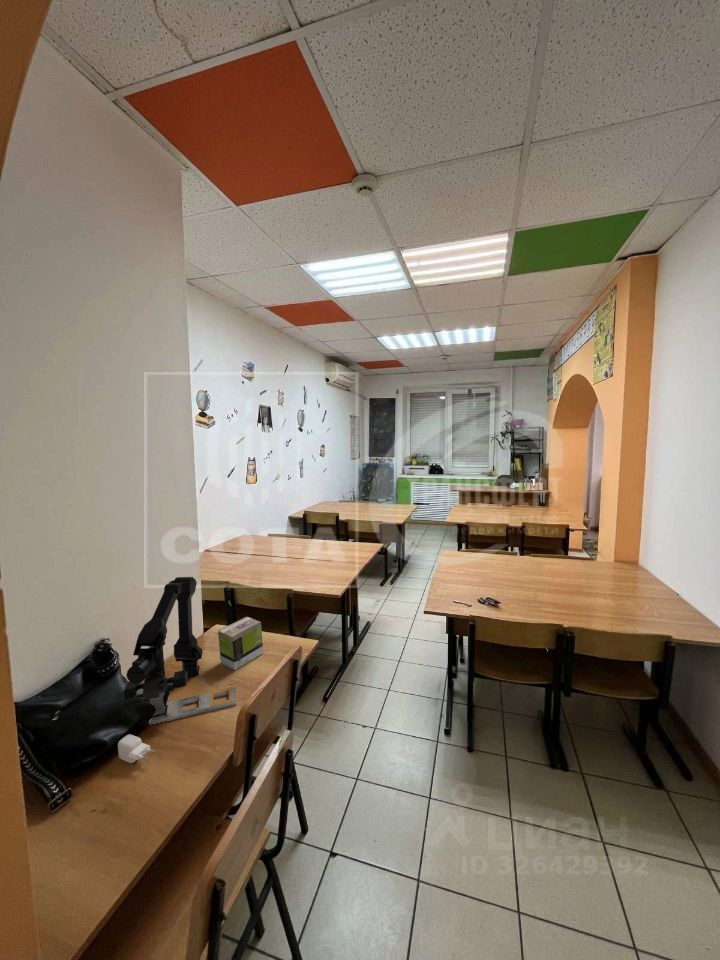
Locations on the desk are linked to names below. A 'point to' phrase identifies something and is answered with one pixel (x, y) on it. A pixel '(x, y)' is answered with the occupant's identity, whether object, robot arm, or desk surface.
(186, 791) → the desk surface
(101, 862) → the desk surface
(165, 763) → the desk surface
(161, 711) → the nut block
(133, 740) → the power adapter
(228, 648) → the tea box
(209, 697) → the rail
